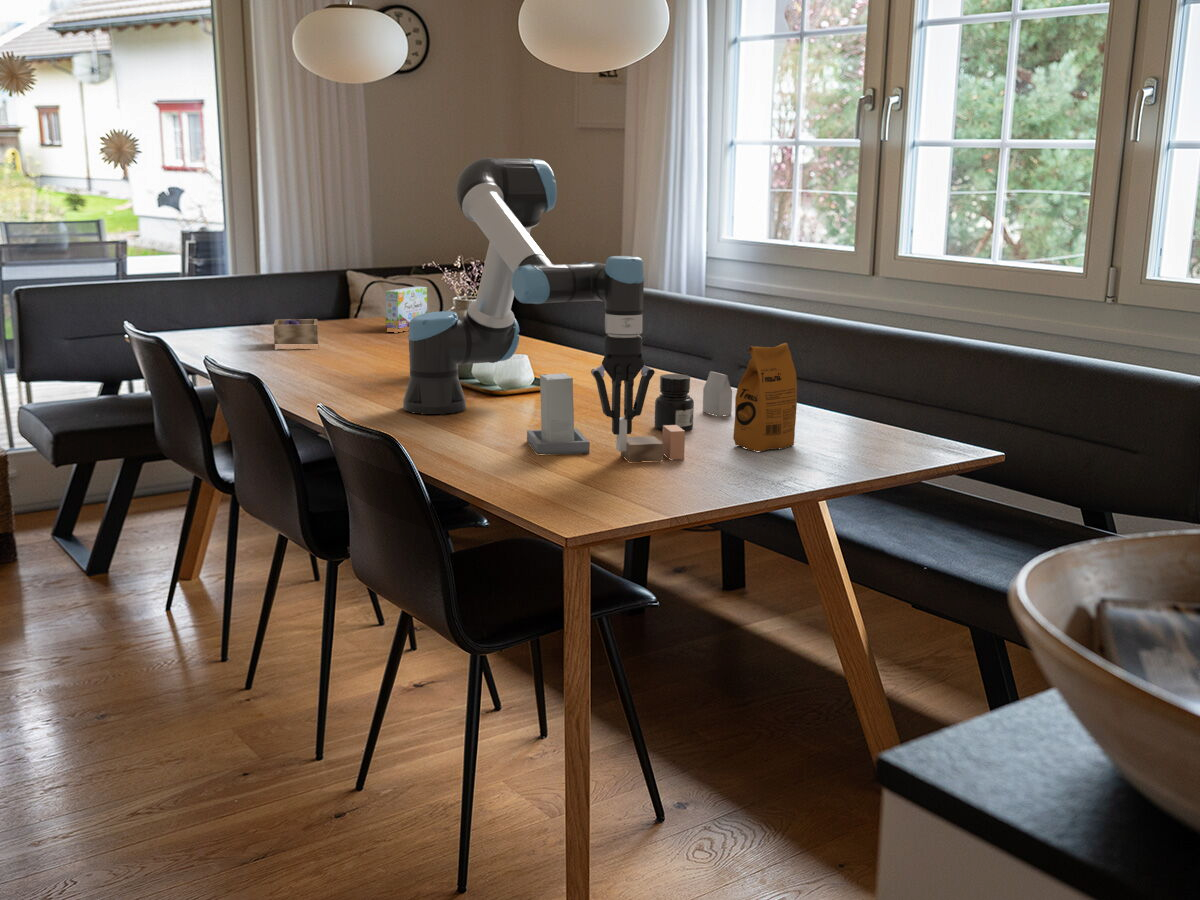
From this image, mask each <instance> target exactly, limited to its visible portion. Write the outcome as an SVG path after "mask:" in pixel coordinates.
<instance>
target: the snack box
mask: <svg viewBox="0 0 1200 900" xmlns="http://www.w3.org/2000/svg"><path fill="white" fill-rule="evenodd" d="M425 313H428V287H427V286H419V285H418V286H417V285H415V286H409V287H404V288H395V289H390V290H386V291H385V329H386V328H393V329H400V328H404V327H409V323H410V321H411V320H412V319H413V318H414V317H416V316H418V315H421V314H425Z"/></svg>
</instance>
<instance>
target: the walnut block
mask: <svg viewBox="0 0 1200 900" xmlns="http://www.w3.org/2000/svg"><path fill="white" fill-rule="evenodd" d="M620 455H621V456H622V457H623V456H624V457H625V458H626V459H627V460H628V461H629V462H642V461H661V460H663V459H664V455H663V443H662V441H661V440H659V439H658V438H657V437H655V436H654V435H653V436H627V451H620ZM624 457H623V458H624ZM625 458H624V459H625ZM626 459H625V460H626ZM627 460H626V461H627ZM628 461H627V462H628ZM663 461H664V460H663ZM629 462H628V463H629ZM642 463H643V462H642Z"/></svg>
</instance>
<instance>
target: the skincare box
mask: <svg viewBox="0 0 1200 900" xmlns="http://www.w3.org/2000/svg"><path fill="white" fill-rule="evenodd" d="M573 382H574V378H573V377H571V376H570V375H569V374H567V373H565V372H564V373H546V374H545V373H543V374H540V375H539V384H540V385H539V386H540V388H539V389H540V392H539V393H540V421H541V423H540V425H541V429H540V430H541V432H542V442H569V441H574V429H575V419H574V418H575V416H574V415H575V414H574V412H575V411H574V409H575V408H574V383H573Z"/></svg>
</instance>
